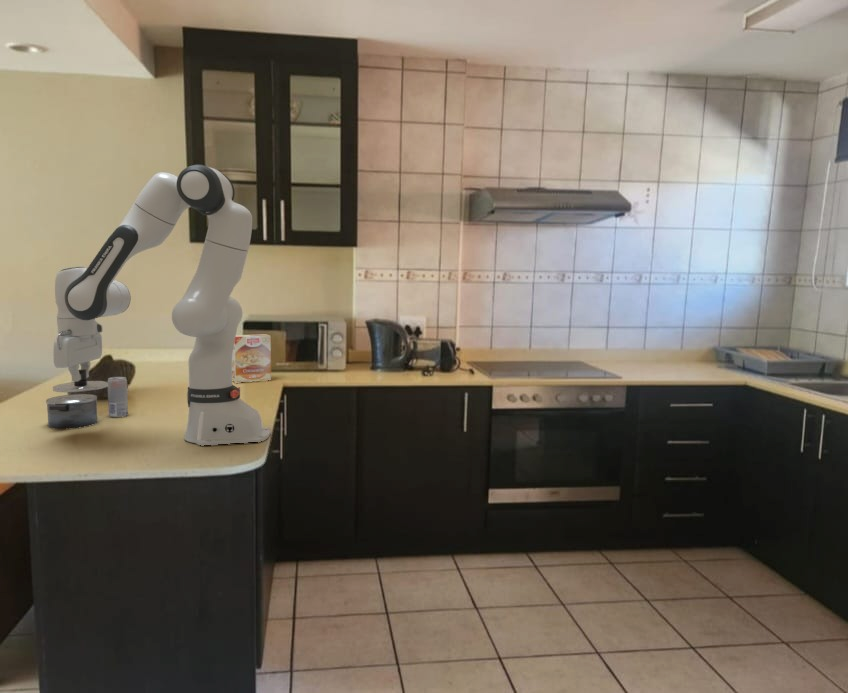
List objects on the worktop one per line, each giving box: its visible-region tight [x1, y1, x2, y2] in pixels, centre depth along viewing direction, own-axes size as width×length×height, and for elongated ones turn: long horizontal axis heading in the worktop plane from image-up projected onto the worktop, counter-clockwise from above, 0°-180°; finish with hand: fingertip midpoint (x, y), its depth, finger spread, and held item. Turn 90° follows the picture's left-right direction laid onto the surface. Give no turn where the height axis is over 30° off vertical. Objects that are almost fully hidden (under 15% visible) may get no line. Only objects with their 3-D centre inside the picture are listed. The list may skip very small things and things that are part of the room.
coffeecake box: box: [232, 333, 272, 384], centre depth 257 cm, size 15×7×20 cm, turn 120°
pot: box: [45, 393, 98, 430], centre depth 181 cm, size 13×18×8 cm
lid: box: [52, 368, 108, 393], centre depth 165 cm, size 13×13×5 cm
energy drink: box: [106, 376, 129, 418], centre depth 191 cm, size 5×5×12 cm
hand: (80, 379), depth 165 cm, fingers closed on lid, 3 cm apart
